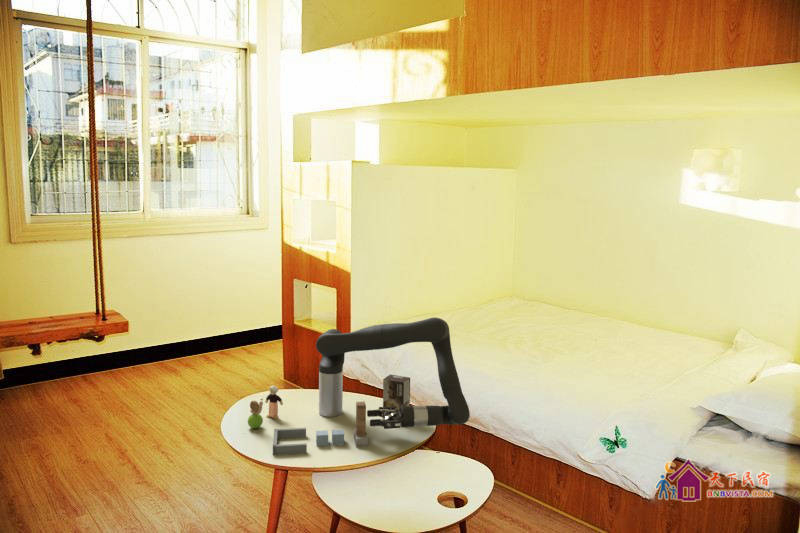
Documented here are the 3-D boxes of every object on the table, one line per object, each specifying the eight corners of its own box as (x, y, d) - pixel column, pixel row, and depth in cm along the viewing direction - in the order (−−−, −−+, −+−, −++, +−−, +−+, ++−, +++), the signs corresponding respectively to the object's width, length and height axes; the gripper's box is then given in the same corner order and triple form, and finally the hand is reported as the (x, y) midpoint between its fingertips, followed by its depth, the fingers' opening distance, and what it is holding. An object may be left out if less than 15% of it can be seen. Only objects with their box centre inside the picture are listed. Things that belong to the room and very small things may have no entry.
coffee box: (410, 417, 241) (411, 377, 239) (403, 422, 235) (404, 382, 233) (389, 412, 245) (390, 373, 243) (382, 418, 239) (382, 378, 237)
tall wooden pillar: (353, 436, 222) (354, 399, 220) (364, 436, 223) (365, 398, 221) (356, 447, 213) (356, 408, 211) (367, 446, 214) (368, 408, 212)
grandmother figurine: (262, 418, 237) (262, 386, 235) (266, 414, 241) (265, 383, 239) (281, 419, 236) (281, 388, 234) (285, 416, 239) (284, 384, 238)
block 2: (331, 440, 218) (332, 430, 218) (343, 440, 219) (343, 429, 218) (332, 445, 214) (332, 434, 214) (344, 445, 215) (344, 434, 214)
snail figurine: (257, 432, 223) (256, 401, 222) (244, 428, 227) (244, 397, 225) (267, 427, 228) (267, 396, 226) (255, 423, 231) (255, 393, 230)
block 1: (316, 441, 217) (316, 430, 217) (327, 441, 218) (327, 430, 217) (316, 446, 213) (316, 435, 213) (328, 445, 214) (328, 434, 213)
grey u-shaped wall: (274, 437, 220) (274, 429, 219) (306, 435, 222) (305, 427, 221) (272, 455, 206) (272, 446, 205) (306, 453, 208) (306, 444, 207)
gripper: (410, 399, 226) (366, 400, 224) (417, 413, 212) (371, 415, 210) (409, 418, 227) (366, 420, 225) (417, 434, 213) (370, 436, 211)
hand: (368, 418), depth 217 cm, fingers open, 8 cm apart
